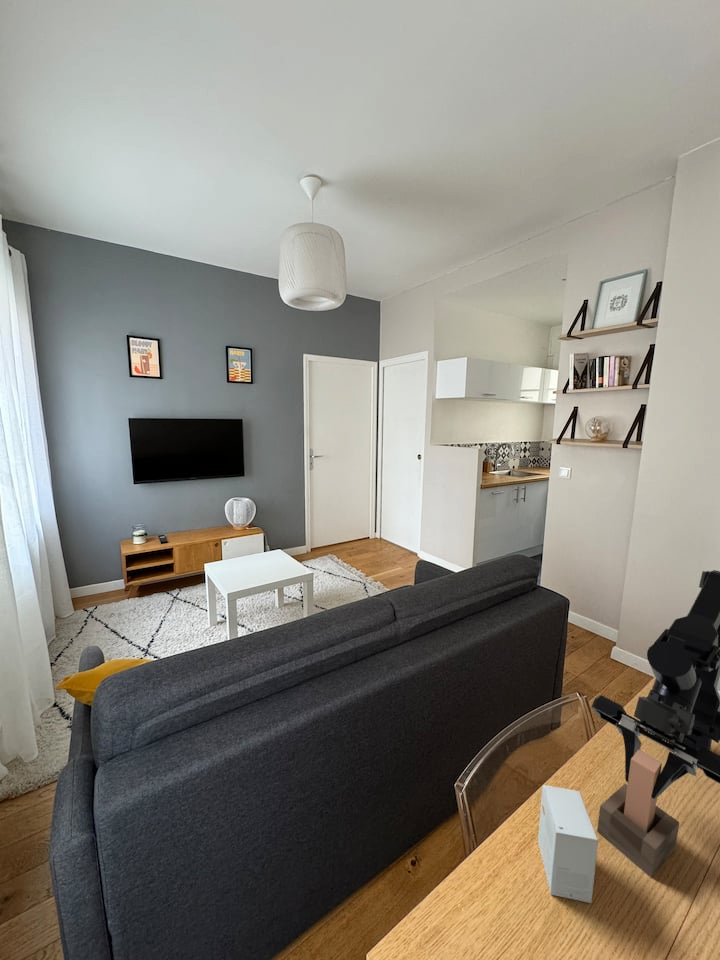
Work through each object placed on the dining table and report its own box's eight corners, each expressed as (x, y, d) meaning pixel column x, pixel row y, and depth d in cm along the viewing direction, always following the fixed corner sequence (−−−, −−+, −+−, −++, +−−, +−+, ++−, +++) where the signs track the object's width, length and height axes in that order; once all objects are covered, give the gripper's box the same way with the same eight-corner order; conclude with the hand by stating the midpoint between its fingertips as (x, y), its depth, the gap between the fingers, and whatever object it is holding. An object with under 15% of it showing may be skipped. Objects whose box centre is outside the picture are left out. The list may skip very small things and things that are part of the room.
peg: (630, 807, 68) (638, 749, 66) (653, 822, 65) (662, 762, 63) (623, 818, 66) (631, 758, 64) (646, 834, 63) (654, 773, 61)
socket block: (621, 808, 71) (625, 783, 71) (675, 849, 65) (679, 822, 64) (597, 831, 67) (600, 805, 66) (651, 877, 60) (655, 849, 60)
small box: (592, 905, 57) (599, 842, 55) (549, 895, 58) (556, 833, 56) (574, 847, 65) (580, 790, 63) (536, 839, 66) (542, 783, 64)
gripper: (601, 652, 72) (565, 737, 67) (744, 714, 57) (711, 828, 52) (615, 676, 77) (583, 755, 73) (747, 737, 63) (718, 842, 58)
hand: (639, 789), depth 64 cm, fingers closed on peg, 3 cm apart
